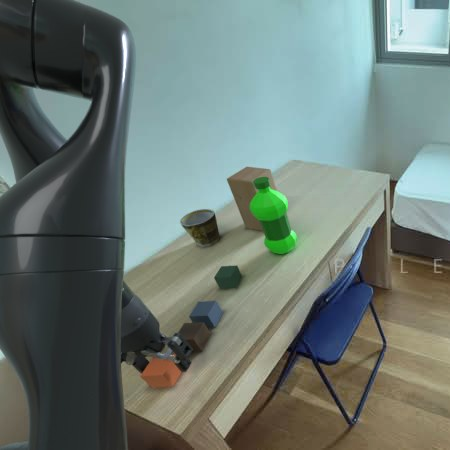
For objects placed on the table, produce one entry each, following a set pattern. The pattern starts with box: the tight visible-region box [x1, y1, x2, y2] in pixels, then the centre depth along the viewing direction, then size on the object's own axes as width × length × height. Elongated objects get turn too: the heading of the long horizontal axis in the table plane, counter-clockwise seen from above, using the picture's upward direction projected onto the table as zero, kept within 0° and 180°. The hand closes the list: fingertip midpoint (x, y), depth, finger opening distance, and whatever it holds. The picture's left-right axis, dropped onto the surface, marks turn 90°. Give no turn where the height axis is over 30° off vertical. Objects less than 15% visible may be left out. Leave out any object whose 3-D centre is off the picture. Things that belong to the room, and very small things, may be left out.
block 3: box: [177, 322, 212, 353], centre depth 71 cm, size 5×5×5 cm
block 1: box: [140, 353, 182, 389], centre depth 65 cm, size 5×5×5 cm
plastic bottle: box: [250, 177, 298, 255], centre depth 93 cm, size 10×10×25 cm
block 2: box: [188, 300, 224, 329], centre depth 77 cm, size 5×5×5 cm
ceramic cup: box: [179, 208, 221, 248], centre depth 102 cm, size 13×10×10 cm
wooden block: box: [226, 166, 278, 232], centre depth 108 cm, size 10×10×20 cm
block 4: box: [213, 265, 243, 290], centre depth 87 cm, size 5×5×5 cm
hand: (166, 368), depth 65 cm, fingers open, 8 cm apart
